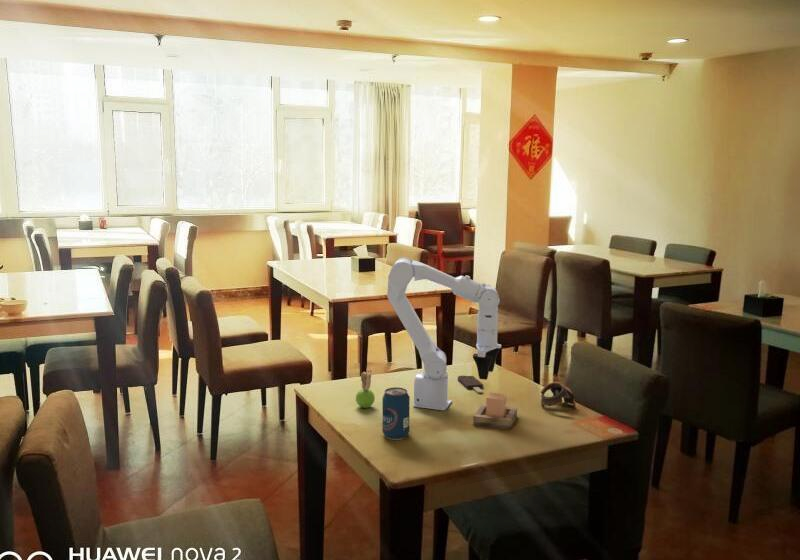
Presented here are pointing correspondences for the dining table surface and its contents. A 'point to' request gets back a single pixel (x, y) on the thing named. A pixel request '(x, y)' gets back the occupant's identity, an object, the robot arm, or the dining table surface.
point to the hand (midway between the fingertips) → (486, 375)
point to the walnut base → (495, 418)
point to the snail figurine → (365, 391)
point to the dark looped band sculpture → (557, 395)
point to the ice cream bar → (471, 383)
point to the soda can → (395, 413)
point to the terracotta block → (496, 405)
